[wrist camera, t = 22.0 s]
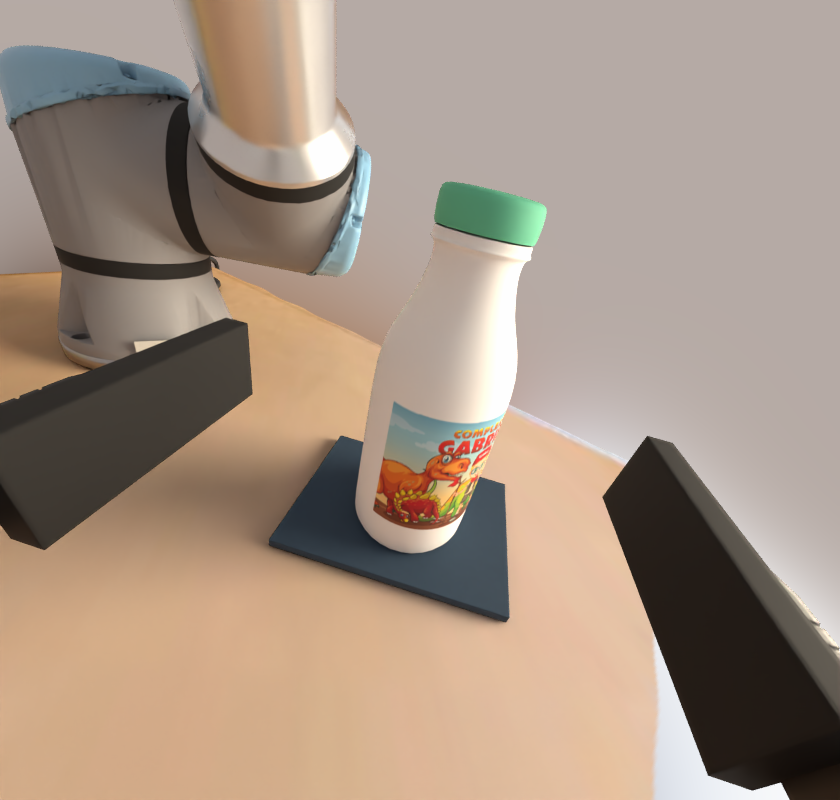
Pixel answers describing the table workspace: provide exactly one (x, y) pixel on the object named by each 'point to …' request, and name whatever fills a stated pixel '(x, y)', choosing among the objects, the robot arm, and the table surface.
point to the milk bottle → (446, 371)
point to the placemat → (417, 572)
